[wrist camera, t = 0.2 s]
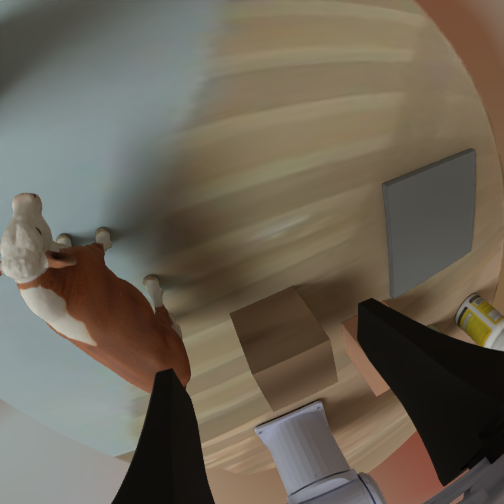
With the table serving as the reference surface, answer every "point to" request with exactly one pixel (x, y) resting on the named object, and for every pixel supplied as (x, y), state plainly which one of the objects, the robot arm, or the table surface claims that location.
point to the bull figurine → (91, 299)
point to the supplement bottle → (481, 322)
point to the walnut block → (285, 348)
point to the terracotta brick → (362, 357)
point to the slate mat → (429, 219)
